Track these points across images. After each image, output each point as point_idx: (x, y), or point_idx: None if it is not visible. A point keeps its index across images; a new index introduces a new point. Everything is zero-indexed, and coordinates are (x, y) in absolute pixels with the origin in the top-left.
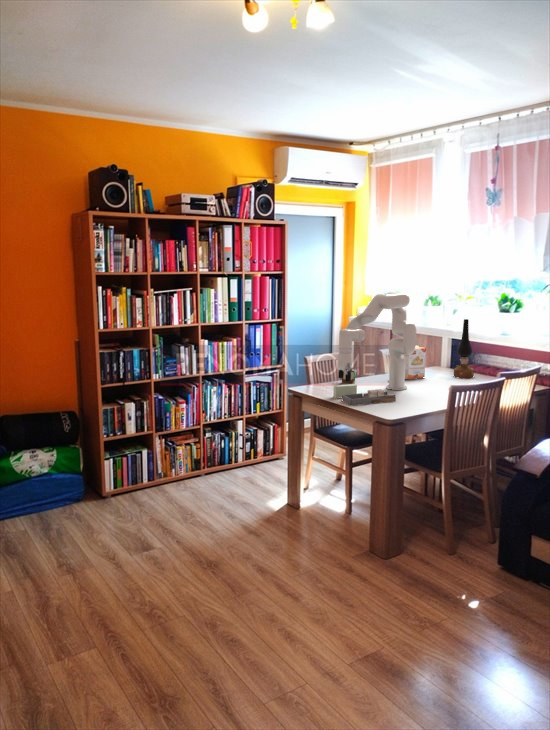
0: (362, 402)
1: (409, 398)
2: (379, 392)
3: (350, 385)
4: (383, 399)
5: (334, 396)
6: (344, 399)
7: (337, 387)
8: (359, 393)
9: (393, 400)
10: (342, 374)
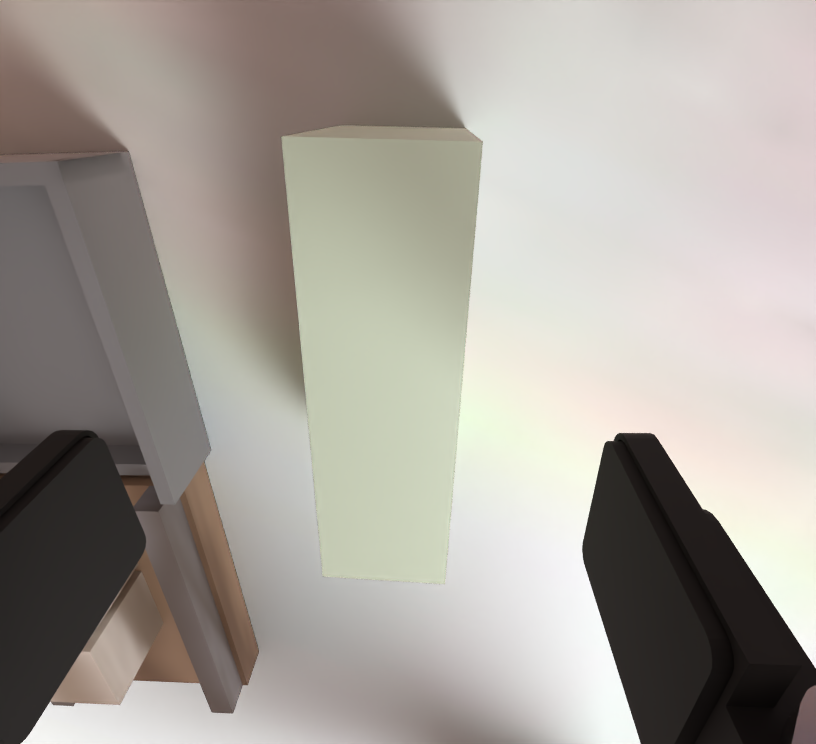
0: None
1: (187, 737)
2: None
3: (344, 494)
4: None
5: (412, 127)
6: (4, 157)
7: (290, 181)
8: (162, 470)
9: None
10: (622, 632)
